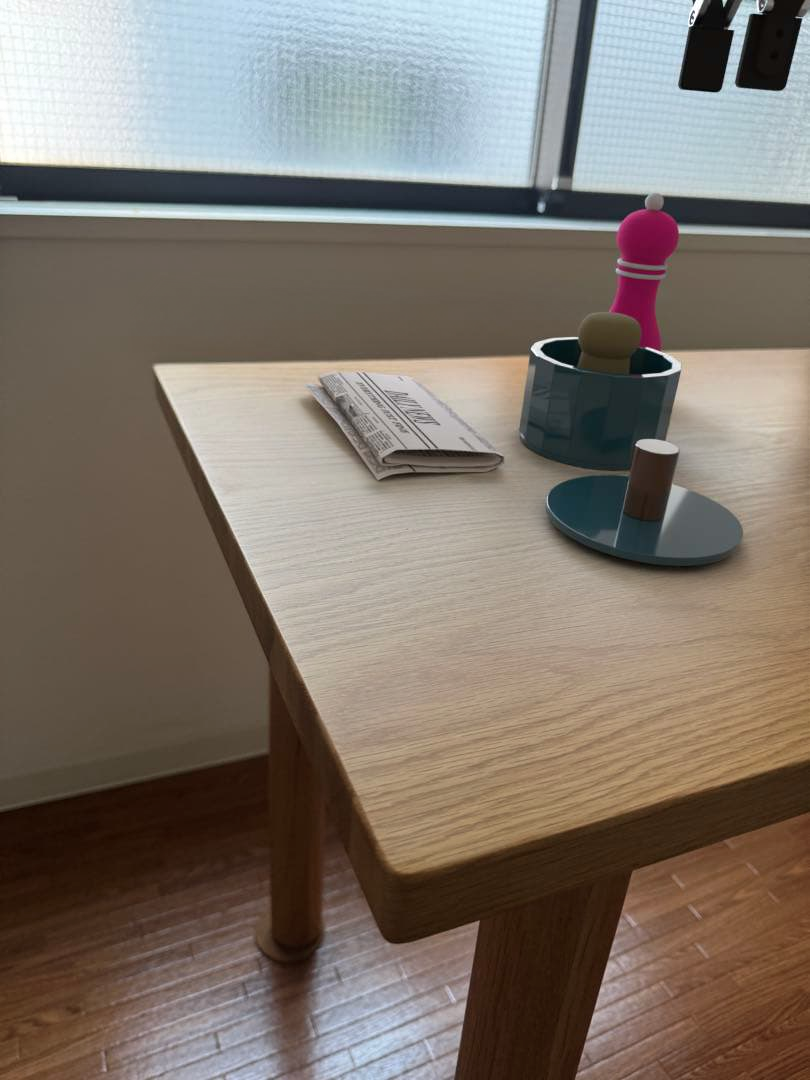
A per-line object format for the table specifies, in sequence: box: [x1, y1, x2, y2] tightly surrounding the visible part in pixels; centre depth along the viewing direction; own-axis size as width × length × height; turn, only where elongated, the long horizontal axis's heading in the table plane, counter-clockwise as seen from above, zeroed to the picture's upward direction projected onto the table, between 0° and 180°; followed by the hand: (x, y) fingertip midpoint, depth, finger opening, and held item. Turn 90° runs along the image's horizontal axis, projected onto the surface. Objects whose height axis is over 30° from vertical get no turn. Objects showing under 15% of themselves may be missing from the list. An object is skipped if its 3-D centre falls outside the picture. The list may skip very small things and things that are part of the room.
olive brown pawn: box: [577, 311, 641, 374], centre depth 74 cm, size 6×6×11 cm
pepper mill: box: [608, 192, 680, 352], centre depth 88 cm, size 7×7×20 cm
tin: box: [518, 336, 683, 471], centre depth 75 cm, size 13×13×8 cm
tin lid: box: [545, 439, 744, 567], centre depth 60 cm, size 14×14×6 cm
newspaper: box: [301, 371, 506, 481], centre depth 76 cm, size 23×12×2 cm, turn 18°
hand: (726, 90), depth 59 cm, fingers open, 9 cm apart
